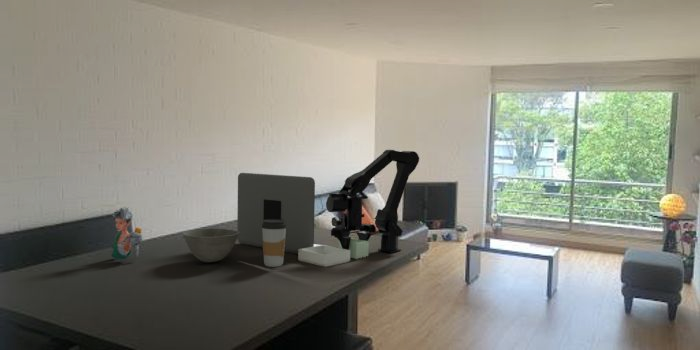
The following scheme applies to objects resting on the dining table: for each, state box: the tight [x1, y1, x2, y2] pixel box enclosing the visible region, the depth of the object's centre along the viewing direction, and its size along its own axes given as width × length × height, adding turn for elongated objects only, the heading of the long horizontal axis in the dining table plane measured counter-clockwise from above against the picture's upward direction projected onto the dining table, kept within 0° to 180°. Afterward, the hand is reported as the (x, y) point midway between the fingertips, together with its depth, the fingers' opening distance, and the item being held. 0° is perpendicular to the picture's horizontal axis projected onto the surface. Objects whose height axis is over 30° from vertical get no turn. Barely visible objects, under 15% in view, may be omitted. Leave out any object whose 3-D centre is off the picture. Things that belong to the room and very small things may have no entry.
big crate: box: [297, 244, 351, 268], centre depth 189 cm, size 12×13×4 cm
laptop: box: [236, 172, 321, 255], centre depth 216 cm, size 38×29×29 cm
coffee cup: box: [262, 219, 287, 268], centre depth 181 cm, size 8×8×15 cm
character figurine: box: [111, 206, 143, 260], centre depth 185 cm, size 12×8×18 cm
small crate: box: [337, 237, 370, 260], centre depth 198 cm, size 6×9×6 cm
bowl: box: [182, 227, 239, 263], centre depth 185 cm, size 19×19×10 cm
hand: (353, 253), depth 198 cm, fingers open, 8 cm apart
